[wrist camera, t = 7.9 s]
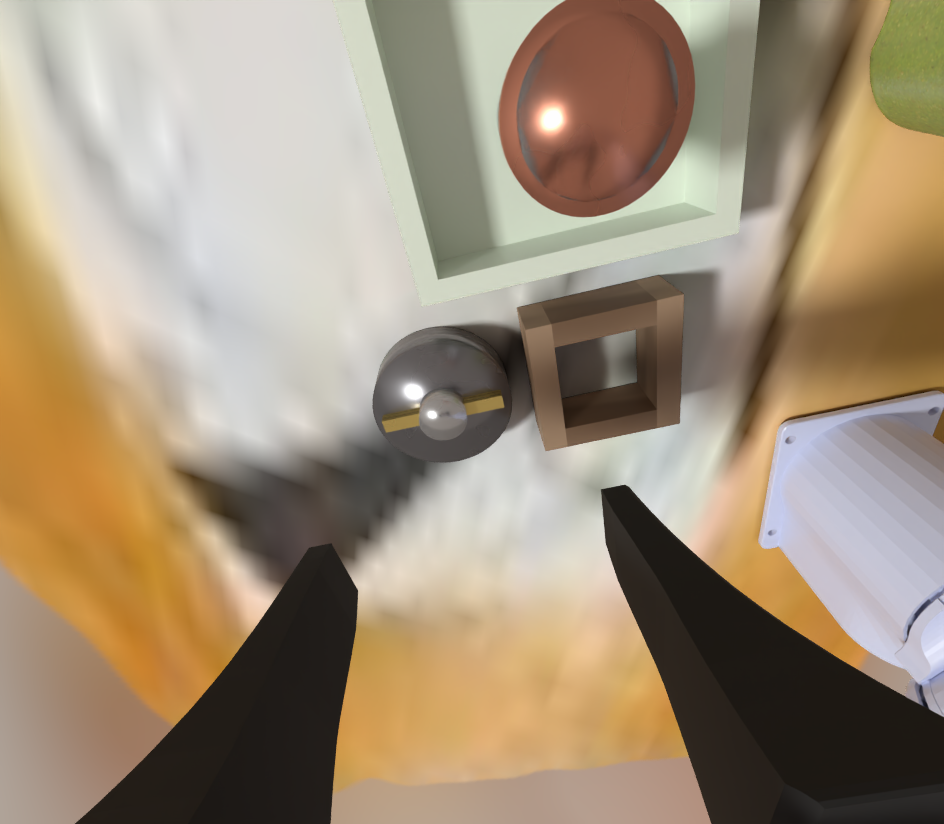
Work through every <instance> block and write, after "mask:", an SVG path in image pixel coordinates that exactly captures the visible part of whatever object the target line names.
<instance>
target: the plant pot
mask: <svg viewBox="0 0 944 824" xmlns="http://www.w3.org/2000/svg"><path fill="white" fill-rule="evenodd" d="M870 82H871V87H872V92H873V95H874V98H875V101H876V103H877V105H878V107H879V109H880V110H881V112H882V113H883V114H884V115H885V116H886V117H887V118H888V119H889V120H890V121H891V122H893V123H895V124H896V125H898V126H901V127H903V128H907V129H910V130H914V131H919V132H924V133H928V134H933V135H937V136H942V137H944V0H891V3H890V7H889V10H888V13H887V16H886V18H885V21H884V24H883V27H882V29H881V31H880V34H879V36H878V38H877V40H876V42H875V44H874V46H873V48H872V51H871V57H870Z"/></svg>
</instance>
